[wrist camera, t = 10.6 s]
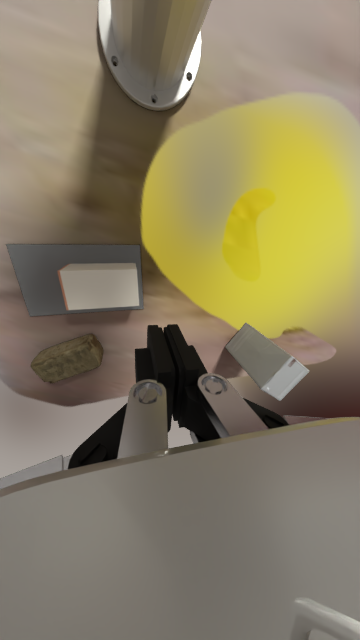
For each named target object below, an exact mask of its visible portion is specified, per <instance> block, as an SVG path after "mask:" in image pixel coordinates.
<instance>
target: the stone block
mask: <svg viewBox="0 0 360 640" xmlns="http://www.w3.org/2000/svg"><path fill="white" fill-rule="evenodd" d="M102 356H103V348H102V346H101V344H100V343H99V341H98V340H97V338H96V336H95V335H94V334H88V335H85V336H82V337H78V338H76V339H73V340H70V341H66V342H64V343H61V344H58V345H56V346H52V347H50V348H47V349H45V350H43V351H41V352H40V353H39V354H38V355H37V356H36V357H35V358H34V360H33V361H32V363H31V368H32V369H33V371H35V373H36V374H37V375H38V376H39V377H40V378H41V379H42V380H43V381H44V382H50V383H55V382H58V381H60V380H63V379H66V378H68V377H71V376H74V375H77V374H80V373H83V372H87V371H90V370H92V369H94V368H97V367H99V366H100V365H101V362H102Z"/></svg>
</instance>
